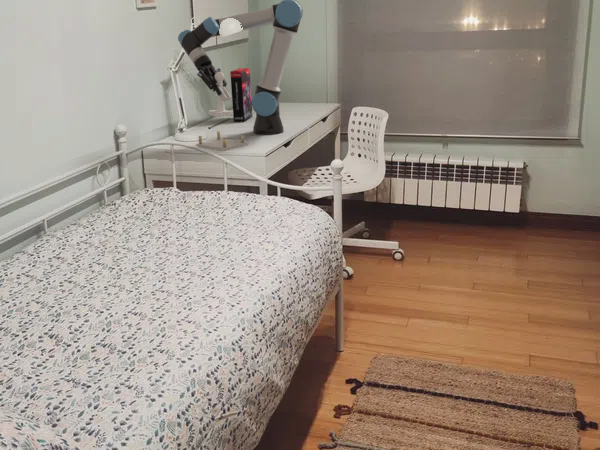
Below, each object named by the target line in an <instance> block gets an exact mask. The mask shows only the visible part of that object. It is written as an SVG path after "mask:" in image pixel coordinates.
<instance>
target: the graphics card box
mask: <svg viewBox="0 0 600 450" xmlns="http://www.w3.org/2000/svg"><path fill="white" fill-rule="evenodd" d="M251 82H252V81H251V69H250V68H247V67H242V68H241V67H240V68H237V69H234V70H231V71H230V87H231V100H232V101H231V102H232V104H231V105H232V111H233V116H232V117H233V122H234V123H235V122H236V123H237V122H238V123H241V122H242V123H243V122H247V120H249V119H251V118H252V117H253V107H252V99H253V97H252V85H251Z"/></svg>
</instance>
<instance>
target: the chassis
mask: <svg viewBox="0 0 600 450" xmlns="http://www.w3.org/2000/svg"><path fill="white" fill-rule="evenodd" d="M216 135H217V136H216V138H217V139H211V140H208V141H205V142H203V136H202V135H198V143H196V144H195V147H196V146H198V147H197V148H200V149H201V148H202V149H208V150H209V149H210V150H216V151H221V152H225V151H229V150H233V149H237V148H241V147H244V146H248V144H249V143H248V141H245V135H244V134H241V135H240V140H234V139H228V138H221V132H220V131H216Z"/></svg>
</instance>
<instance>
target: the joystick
mask: <svg viewBox="0 0 600 450" xmlns="http://www.w3.org/2000/svg"><path fill="white" fill-rule="evenodd" d="M215 79H216V81H217V83H216V84H217V85H218V87H220V88H221V89H222V91H223V84H222V82H223V80H224V79H225V74H224V73H223V72H222V71H221V72H217V73H216V74H215ZM208 115H209V116H213V117H214V118H222V117H223V116H226V117H233V110H226V105H225V102H223V101H222V99H221V98H220V96H219V95H218V94H217V93H216V109H211V110H208Z"/></svg>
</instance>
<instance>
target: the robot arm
mask: <svg viewBox="0 0 600 450" xmlns="http://www.w3.org/2000/svg"><path fill="white" fill-rule="evenodd" d="M303 12H304V10H303V7H302V5H301V3H300V2H299V1H297V0H281V1H280V2H278V3H277V4H273V5H271V6H270V7H268V8H264V9H258V10H254V11H249V12H244V13H239V14H235V15H231V16H227V17H221V18H217V19H215V18H213V17H212V16H208V17H207V18H206V19H204V20H203V21H202V22H201V23H200V24H199V25H198V26H196V27H195V28H193V30H192V31H191V30H190V29H185V30H184V31H181V32H180V33H179V34H178V37H177V39H178V42H179V44H180V47H181V48H182V49H183V51H184V52H185V53H186V55H187V56H188V58H189V59H190V60H191V62H192V63H193V65H194V66H195V68H196V70H197V71H198V72H197V74H196V75H197V77H199V78H200V79H201V81H203V83H204V84H205V85H206V86H207V87H208V89H209V90H210V91H212V92H215V93H216V95H217V94H218V95H219V96H220V98H221V99H222V101H223V102H224V103H225V102H226V101H227V102H230V101H231V100H232V95H231V94H230V93H229V91H228V89H227V86H228V82H227V80H226V79H225V78H224V80H223V82H222V84H223V91H222V89H221V88H220V87H218V85H217V81H216V79H215V74H216V73H217V72H222V71H221V68H215V66H214V65H213V61H212V59H210V57H209V55H208V54H207V52H206V51H205V49H204V48H203V47H202V45H203V44H204V43H206V42H207V41H208V40H210V39H211V38H214V37H217V36H221V35H220V34H219V29H220V24H221V22H222V21H223V20H225V19H227V18H234V19H236V20H238V21H239V22H240V23H241V24H240V25H242V26H241V28H242V27H243V30H242V31H248V30H251V29H257V28H262V27H266V26H267V27H268V26H271V25H272V28H273V29H274V32H273V36H272V40H271V43H270V47H269V51H268V55H267V59H266V63H265V67H264V71H263V73H262V78H261V81H259V82H258V83H257V85H256V86H255V90H254V94H253V95H254V96H253V97H252V111H253V112H254V113H255V114H256V115H255V116H256V117H255V120H254V124H253V130H252V131H253V133H255V134H258V135H275V134H280V133H283V132H284V125H283V123H282V119H281V115H280V114H281V113H280V96H281V93H282V89H281V88H280V84H281V81H282V80H281V79H282V76H283V74H284V73H283V72H284V70H285V65H286V63H287V58H288V54H289V50H290V47H291V44H292V41H293V36H295V35H296V34H298V30H299V27H300V23H301V19H302V18H303ZM242 31H241V32H242Z"/></svg>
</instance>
